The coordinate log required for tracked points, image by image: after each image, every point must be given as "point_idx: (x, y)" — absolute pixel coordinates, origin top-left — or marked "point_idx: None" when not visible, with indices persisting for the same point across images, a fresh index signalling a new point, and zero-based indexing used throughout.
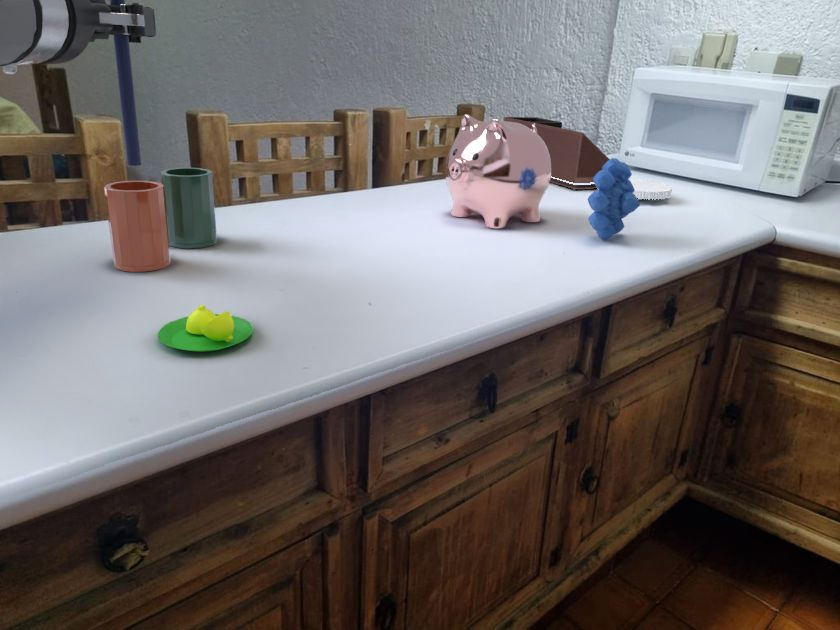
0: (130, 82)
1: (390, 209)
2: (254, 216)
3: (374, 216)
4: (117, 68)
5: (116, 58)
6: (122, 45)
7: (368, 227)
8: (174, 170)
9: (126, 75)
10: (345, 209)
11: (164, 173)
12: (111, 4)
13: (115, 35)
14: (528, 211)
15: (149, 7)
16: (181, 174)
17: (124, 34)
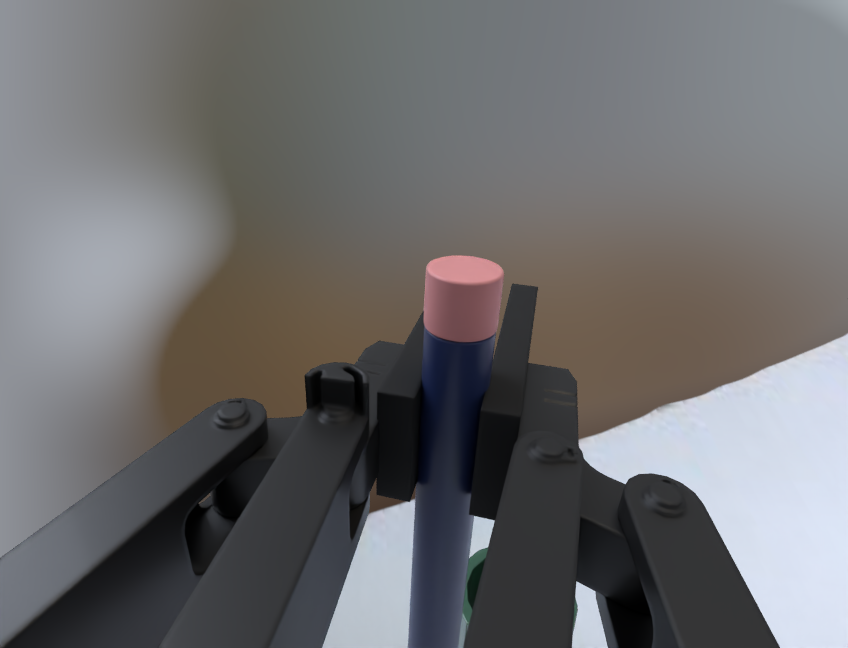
0: (456, 622)
1: (808, 489)
2: None
3: (802, 530)
4: (415, 585)
5: (417, 559)
6: (453, 534)
7: (832, 605)
8: (479, 564)
9: (447, 612)
10: (725, 485)
11: (467, 615)
12: (432, 389)
13: (428, 496)
14: None
15: (684, 503)
16: None
17: (473, 512)
